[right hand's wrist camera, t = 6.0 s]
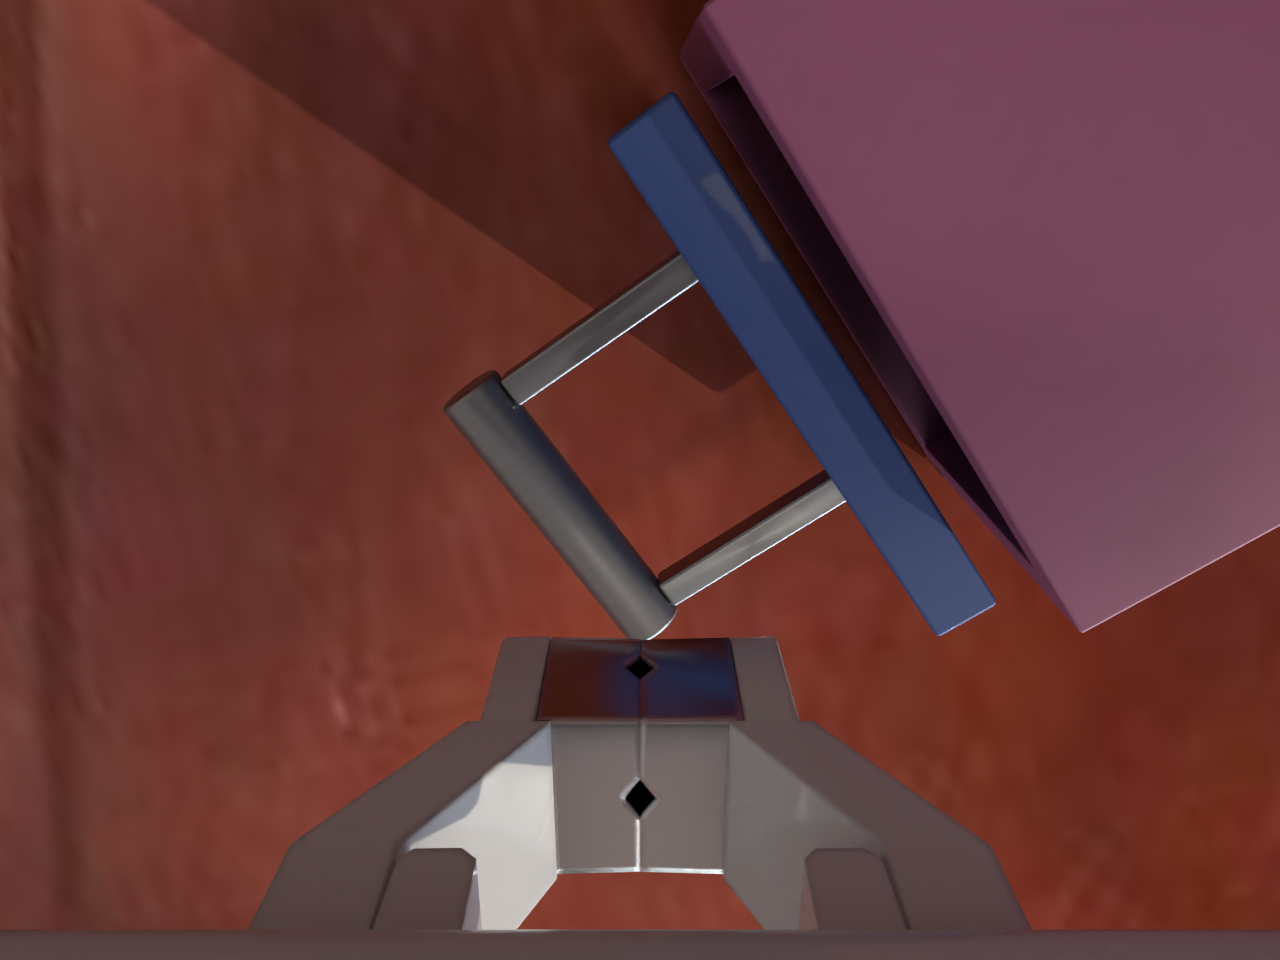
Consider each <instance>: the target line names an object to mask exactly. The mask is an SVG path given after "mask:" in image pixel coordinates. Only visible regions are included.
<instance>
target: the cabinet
mask: <svg viewBox="0 0 1280 960" xmlns="http://www.w3.org/2000/svg"><path fill="white" fill-rule="evenodd" d="M677 57H678V59H679V60H680V61H681V62H682V64H683V65H684V67H685V69H686V70H687V72H688V74H689V75H690V77H691V78H692V80H693V82H694V83H695V85H696V86H697V88H698V90H699V91H700V93H701V94H702V96H703V98H704V99H705V101H706V102H707V104H708V106H709V107H710V109H711V110H712V112H713V114H714V115H715V117H716V118H717V120H718V122H719V123H720V125H721V126H722V128H723V130H724V131H725V133H726V135H727V136H728V138H729V139H730V141H731V143H732V144H733V146H734V147H735V149H736V151H737V152H738V154H739V155H740V157H741V159H742V160H743V162H744V163H745V165H746V167H747V168H748V170H749V171H750V173H751V175H752V176H753V178H754V179H755V181H756V183H757V184H758V186H759V187H760V189H761V191H762V192H763V194H764V196H765V197H766V199H767V200H768V202H769V204H770V205H771V207H772V208H773V210H774V212H775V213H776V215H777V216H778V218H779V220H780V221H781V223H782V224H783V226H784V228H785V229H786V231H787V232H788V234H789V236H790V237H791V239H792V240H793V242H794V244H795V245H796V247H797V248H798V250H799V252H800V253H801V255H802V257H803V258H804V260H805V261H806V263H807V265H808V266H809V268H810V269H811V271H812V273H813V274H814V276H815V277H816V279H817V281H818V282H819V284H820V285H821V287H822V289H823V290H824V292H825V293H826V295H827V297H828V298H829V300H830V301H831V303H832V305H833V306H834V308H835V309H836V311H837V313H838V314H839V316H840V318H841V319H842V321H843V322H844V324H845V326H846V327H847V329H848V330H849V332H850V334H851V335H852V337H853V338H854V340H855V342H856V343H857V345H858V346H859V348H860V350H861V351H862V353H863V354H864V356H865V358H866V359H867V361H868V362H869V364H870V366H871V367H872V369H873V370H874V372H875V374H876V375H877V377H878V379H879V380H880V382H881V383H882V385H883V387H884V388H885V390H886V391H887V393H888V395H889V396H890V398H891V399H892V401H893V403H894V404H895V406H896V407H897V409H898V411H899V412H900V414H901V415H902V417H903V419H904V420H905V422H906V423H907V425H908V427H909V428H910V430H911V431H912V433H913V435H914V436H915V438H916V439H917V441H918V443H919V444H920V446H921V448H922V449H923V451H924V452H925V454H926V456H927V457H928V460H929V461H930V463H931V464H932V465H933V466H934V467H935V469H936V470H937V471H938V472H939V473H940V474H941V475H942V477H943V478H945V479H946V480H947V481H948V482H949V483H950V485H951V486H952V487H953V488H954V489H955V490H956V491H957V493H958V494H959V495H960V496H961V497H962V498H963V499H964V501H965V502H966V503H967V504H968V505H969V506H970V507H971V509H972V510H973V511H974V512H975V513H976V514H977V515H978V517H979V518H980V519H981V520H982V521H983V522H984V523H985V525H986V526H987V527H988V528H989V529H990V530H991V531H992V533H993V534H994V535H995V536H996V537H997V538H998V539H999V541H1000V542H1001V543H1002V544H1003V545H1004V546H1005V547H1006V549H1007V550H1008V551H1009V552H1010V553H1011V554H1012V555H1013V557H1014V558H1015V559H1016V560H1017V561H1018V562H1019V563H1020V565H1021V566H1022V567H1023V568H1024V569H1025V570H1026V571H1027V573H1028V574H1029V575H1030V576H1031V577H1032V578H1033V579H1034V581H1035V582H1036V583H1037V584H1038V585H1039V586H1040V587H1041V589H1042V590H1043V591H1044V592H1045V593H1046V594H1047V595H1048V597H1049V598H1050V599H1051V600H1052V601H1053V602H1054V603H1055V604H1056V605H1057V607H1058V608H1059V609H1060V610H1061V611H1062V613H1063V614H1064V615H1065V616H1066V617H1067V618H1068V619H1069V621H1070V622H1071V623H1072V624H1073V625H1074V626H1075V627H1076V629H1077V630H1078V631H1080V632H1086V631H1087V630H1089V629H1091V628H1093V627H1095V626H1097V625H1098V624H1100V623H1102V622H1104V621H1106V620H1108V619H1109V618H1111V617H1113V616H1115V615H1117V614H1119V613H1120V612H1122V611H1124V610H1126V609H1128V608H1130V607H1131V606H1133V605H1135V604H1137V603H1139V602H1141V601H1142V600H1144V599H1146V598H1148V597H1150V596H1152V595H1154V594H1155V593H1157V592H1159V591H1161V590H1163V589H1165V588H1166V587H1168V586H1170V585H1172V584H1174V583H1176V582H1177V581H1179V580H1181V579H1183V578H1185V577H1187V576H1188V575H1190V574H1192V573H1194V572H1196V571H1198V570H1199V569H1201V568H1203V567H1205V566H1207V565H1209V564H1210V563H1212V562H1214V561H1216V560H1218V559H1220V558H1222V557H1223V556H1225V555H1227V554H1229V553H1231V552H1233V551H1234V550H1236V549H1238V548H1240V547H1242V546H1244V545H1245V544H1247V543H1249V542H1251V541H1253V540H1255V539H1256V538H1258V537H1260V536H1262V535H1264V534H1266V533H1267V532H1269V531H1271V530H1273V529H1275V528H1277V527H1278V526H1280V0H708V1H707V2H706V3H705V4H704V6H703V8H702V10H701V12H700V13H699V15H698V17H697V19H696V21H695V23H694V25H693V27H692V29H691V31H690V33H689V35H688V37H687V39H686V41H685V43H684V45H683V47H682V49H681V50H680V51H679V52H678V54H677ZM749 99H750V100H749ZM750 101H751V102H750ZM752 104H753V105H752ZM753 106H754V107H753ZM755 109H756V110H755ZM756 111H757V112H758V113H757V112H756ZM758 114H759V115H758ZM759 116H760V117H761V118H760V117H759ZM761 119H762V120H761ZM763 122H764V123H763ZM764 124H765V125H764ZM766 127H767V128H766ZM767 129H768V130H767ZM769 132H770V133H769ZM770 134H771V135H770ZM772 137H773V138H772ZM773 139H774V140H773ZM775 142H776V143H775ZM776 144H777V145H778V146H777V145H776ZM778 147H779V148H778ZM780 150H781V151H780ZM781 152H782V153H781ZM783 155H784V156H783ZM784 157H785V158H784ZM786 160H787V161H786ZM787 162H788V163H787ZM789 165H790V166H789ZM790 167H791V168H790ZM792 170H793V171H792ZM793 172H794V173H795V174H794V173H793ZM795 175H796V176H795ZM797 178H798V179H797ZM798 180H799V181H798ZM800 183H801V184H800ZM801 185H802V186H801ZM803 188H804V189H803ZM804 190H805V191H804ZM806 193H807V194H806ZM807 195H808V196H807ZM809 198H810V199H809ZM810 200H811V201H810ZM812 203H813V204H812ZM814 206H815V207H814ZM815 208H816V209H815ZM817 211H818V212H817ZM818 213H819V214H818ZM820 216H821V217H820ZM821 218H822V219H821ZM823 221H824V222H823ZM824 223H825V224H824ZM826 226H827V227H826ZM827 228H828V229H827ZM829 231H830V232H829ZM830 233H831V234H832V235H831V234H830ZM832 236H833V237H832ZM834 239H835V240H834ZM835 241H836V242H835ZM837 244H838V245H837ZM838 246H839V247H838ZM840 249H841V250H840ZM841 251H842V252H841ZM843 254H844V255H843ZM844 256H845V257H844ZM846 259H847V260H846ZM847 261H848V262H849V263H848V262H847ZM849 264H850V265H849ZM851 267H852V268H851ZM852 269H853V270H852ZM854 272H855V273H854ZM855 274H856V275H855ZM857 277H858V278H857ZM858 279H859V280H858ZM860 282H861V283H860ZM861 284H862V285H861ZM863 287H864V288H863ZM864 289H865V290H864ZM866 292H867V293H866ZM868 295H869V296H868ZM869 297H870V298H869ZM871 300H872V301H871ZM872 302H873V303H872ZM874 305H875V306H874ZM875 307H876V308H875ZM877 310H878V311H877ZM878 312H879V313H878ZM880 315H881V316H880ZM881 317H882V318H881ZM883 320H884V321H883ZM885 323H886V324H885ZM886 325H887V326H886ZM888 328H889V329H888ZM889 330H890V331H889ZM891 333H892V334H891ZM892 335H893V336H892ZM894 338H895V339H894ZM895 340H896V341H895ZM897 343H898V344H897ZM898 345H899V346H898ZM900 348H901V349H900ZM901 350H902V351H903V352H902V351H901ZM903 353H904V354H903ZM905 356H906V357H905ZM906 358H907V359H906ZM908 361H909V362H908ZM909 363H910V364H909ZM911 366H912V367H911ZM912 368H913V369H912ZM914 371H915V372H914ZM915 373H916V374H915ZM917 376H918V377H917ZM918 378H919V379H918ZM920 381H921V382H920ZM922 384H923V385H922ZM923 386H924V387H923ZM925 389H926V390H925ZM926 391H927V392H926ZM928 394H929V395H928ZM929 396H930V397H929ZM931 399H932V400H931ZM932 401H933V402H932ZM934 404H935V405H934ZM935 406H936V407H935ZM937 409H938V410H937ZM939 412H940V413H939ZM940 414H941V415H940ZM942 417H943V418H942Z"/></svg>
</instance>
